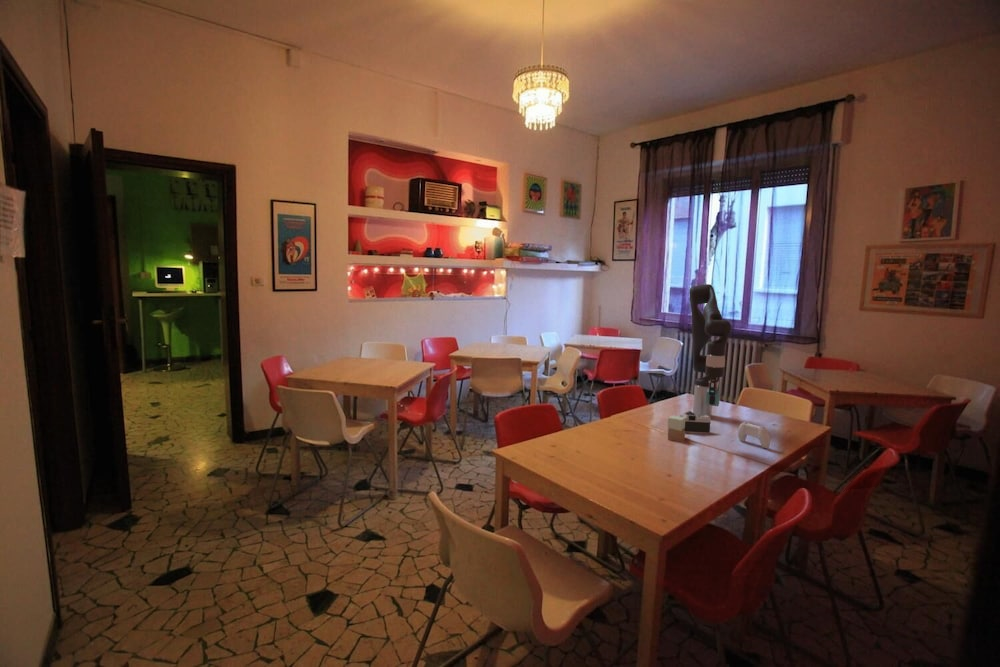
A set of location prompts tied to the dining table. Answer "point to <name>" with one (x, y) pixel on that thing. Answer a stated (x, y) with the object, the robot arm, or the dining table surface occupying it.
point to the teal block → (715, 398)
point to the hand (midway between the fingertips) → (712, 402)
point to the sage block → (676, 423)
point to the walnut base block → (676, 435)
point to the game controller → (754, 433)
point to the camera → (696, 423)
